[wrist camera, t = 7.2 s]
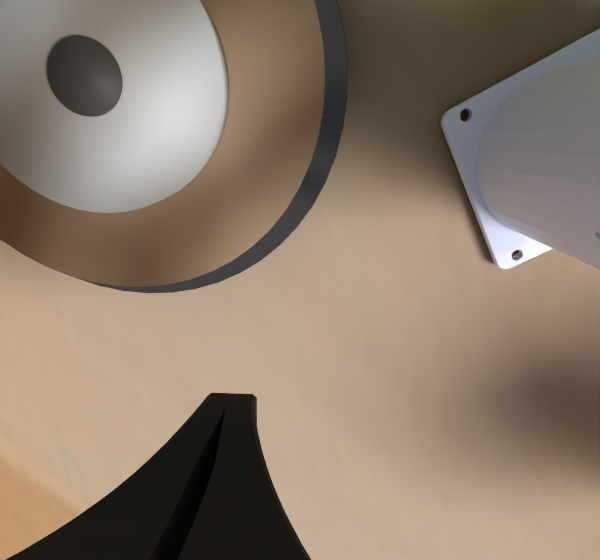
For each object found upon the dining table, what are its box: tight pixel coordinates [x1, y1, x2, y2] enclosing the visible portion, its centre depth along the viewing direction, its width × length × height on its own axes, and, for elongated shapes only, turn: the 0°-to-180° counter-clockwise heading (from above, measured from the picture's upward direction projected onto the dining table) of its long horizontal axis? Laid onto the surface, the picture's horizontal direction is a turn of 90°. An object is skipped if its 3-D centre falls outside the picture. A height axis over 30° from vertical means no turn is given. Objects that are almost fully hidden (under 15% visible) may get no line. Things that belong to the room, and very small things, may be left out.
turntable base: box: [75, 0, 347, 293], centre depth 17 cm, size 18×18×1 cm
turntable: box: [0, 0, 325, 287], centre depth 14 cm, size 16×16×4 cm
